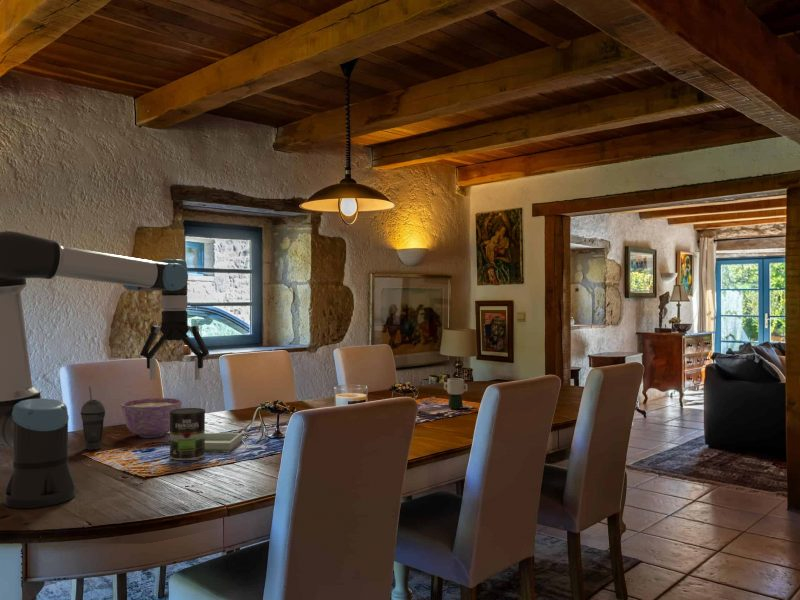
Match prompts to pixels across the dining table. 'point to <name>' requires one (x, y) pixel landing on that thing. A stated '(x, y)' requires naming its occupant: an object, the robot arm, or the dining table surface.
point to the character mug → (455, 391)
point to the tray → (222, 441)
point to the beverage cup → (92, 422)
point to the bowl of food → (149, 415)
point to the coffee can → (187, 433)
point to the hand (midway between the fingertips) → (175, 379)
